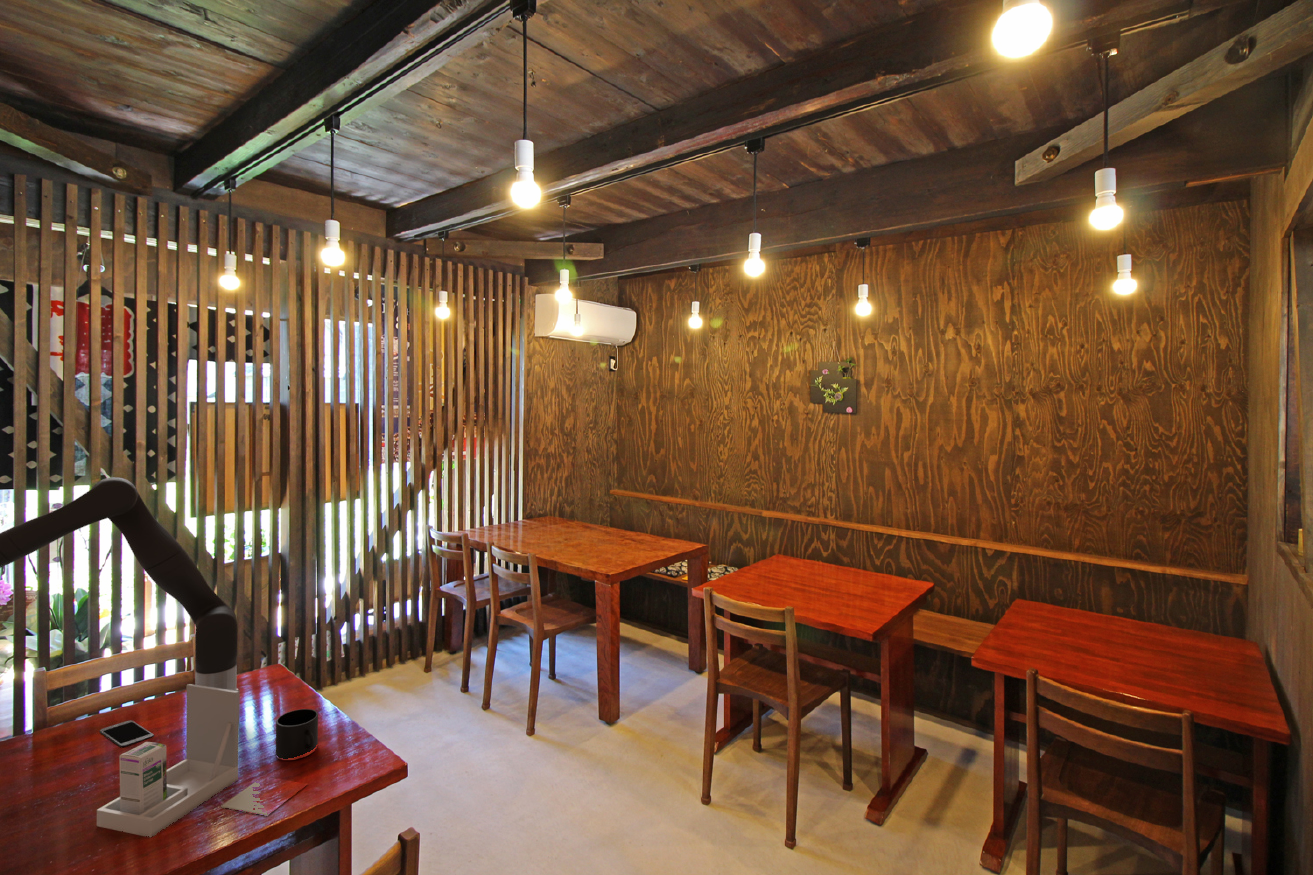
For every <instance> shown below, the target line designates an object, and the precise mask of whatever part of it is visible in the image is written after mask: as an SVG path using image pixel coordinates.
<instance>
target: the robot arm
mask: <svg viewBox="0 0 1313 875" xmlns="http://www.w3.org/2000/svg"><path fill="white" fill-rule="evenodd" d="M106 519H109V521H110V522H111V523H112V524H113V525H114V526H115V527H116V528H117V529H118V530H119V531H120V532H121V534H122V535H123V537H124V538H125V540H126V542H127V544H128V546H129V548H130V550H131V551H132V554H133V555H134V557H135V559H136V560H137V562H138V563H139V565H140V566H141V567H142V569H143V570H144V571H145V572H146V574H147V575H148V576H149V578H150V579H151V580H152V581H153V582H154V583H155V584H156V585H157V586H158V587H159V588H161V590H162V591H163V592H165V593H167V594H168V595H169V596H171V597H172V598H173V599H175V601H177V602H179V604H180V605H182V607H183V608H184V609H185V611H186V613H187V614H188V616H189V617H190V618H191V620H192V623H193V625H194V626H195V635H194V636H195V637H194V639H195V640H194V641H195V643H194V645H195V646H194V648H195V649H194V650H195V652H194V654H195V656H194V657H195V659H194V662H195V663H194V664H195V666H194V667H195V669H194V670H195V672H194V673H195V675H194V678H195V679H194V680H195V681H194V682H195V684H194V685H200V686H207V687H214V688H220V689H227V690H234V691H239V706H240V704H241V703H240V701H241V700H240V696H241V695H240V693H241V692H240V688H238V687H237V685H238V684H237V680H238V679H237V677H238V676H237V673H238V671H237V668H238V667H237V664H238V635H239V634H238V628H239V627H238V620H237V619H238V618H237V615H236V613H235V611H234V610H233V609H232V608H231V607H230V606H229V605H228V604H227V603H226V602H224V600H223V599H222V598H221V597H220V596H219V595H218V594H216V592H214V590H213V589H212V588H211V587H210V585H209V584H208V583H207V581H206V579H205V578H204V576H203V574H202V573H201V570H199V568H198V566H197V565H196V563H195V562H194V560H193V559H192V558H191V556H190V555H189V554H188V553H187V551H186V550H185V549H184V547H183V546H182V545H181V544H180V543H179V541H177V539H175V537H174V536H173V535H172V534H171V533H170V532H169V531H168V529H166V528H165V527H164V526H163V525H162V524H161V523H160V522H159V521H158V520H157V519H156V518H155V517H154V515H153V514H152V513H151V512H150V510H149V508H148V507H147V506H146V503H145V502H144V500H143V499H142V497H141V495H140V494H139V491H138V488H136V486H135V484H133V482H132V481H129V480H128V479H126V478H123V477H117V476H112V477H106V478H103V479H101V480H99V481H97V482H96V483H95V484H94V485H93V486H92V487H91V489H89V490H88V491H87V492H85V493H84V494H82V495H80V496H79V497H78V498H76V499H74V500H72V501H70V502H69V503H67V504H65V505H63V506H62V507H59V508H56V509H55V510H53V511H50V512H48V513H45V514H43V515H40V516H37V517H35V518H32V519H29V520H28V521H25V522H23V523H20V524H17V525H15V526H12V527H10V528H9V529H6V530H3V531H2V532H0V569H1V568H4V567H5V566H7V565H9V564H12V563H14V562H16V561H18V560H20V559H22V558H24V557H26V556H28V555H30V554H32V553H34V552H36V551H38V550H40V549H42V548H44V547H45V546H47V545H50V544H51V543H53V542H55V541H57V540H59V539H61V538H62V537H65V536H67V535H68V534H71V533H73V532H75V531H77V530H79V529H82V528H85V527H86V526H89V525H92V524H95V523H97V522H99V521H103V520H106Z"/></svg>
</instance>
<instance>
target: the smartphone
mask: <svg viewBox="0 0 1313 875" xmlns="http://www.w3.org/2000/svg"><path fill="white" fill-rule="evenodd" d="M99 732H100V733H99V734H100V735H102V736H103V735H104V736H103V737H105V738H106V739H108V738H109V739H110V740H111V741H110V740H109V739H108V740H109V741H110V742H112V743H113V744H114V745H116V746H117V745H118V746H117V747H119V748H121V747H122V748H127V747H130V746H133V745H136V744H138V743H140V742H143V741H146V740H149V739H152V738H154V737H155V734H154V733H153V732H150V731H149V730H147V729H146V728H144V727H143V726H141V724H138V723H137V722H135V721H134V720H132V719H131V720H126V721H122V722H119V723H116V724H113V725H109V726H107V727H103V728H101V729H100V730H99ZM129 745H130V746H129Z"/></svg>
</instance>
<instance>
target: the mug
mask: <svg viewBox="0 0 1313 875" xmlns="http://www.w3.org/2000/svg"><path fill="white" fill-rule="evenodd" d="M318 740H319V713H318V711H317V710H315V709H312V708H301V709H295V710H294V709H293V710H291V711H288V712H285V713H282V714H281V715H280V716H279V717H278V718H276V720H275V756H276V755H277V756H278V757H279V758H283V759H288V758H294V757H297V756H300V755H303V754H305V753H307V752H310V751H311V750H313V749H314V748H315V747H316V745H317V744H318V743H319V741H318Z"/></svg>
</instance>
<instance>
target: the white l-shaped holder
mask: <svg viewBox="0 0 1313 875" xmlns="http://www.w3.org/2000/svg"><path fill="white" fill-rule="evenodd" d="M185 714H186V719H185V720H186V724H185V725H186V729H185V730H186V734H185V735H186V738H185V740H186V742H185V743H186V744H185V746H186V747H185V750H186V751H185V754H186V755H185V759H184V760H181V761H180V762H177V763H176V764H175V765H173V766H171V767H170V768H168V769H167V799H165V800H164V801H162V802H160V803H159V804H157V805H155V806H154V807H152V808H151V809H149V810H147V811H146V812H144V813H142V814H141V815H135V814H130V813H125V812H120V796H119V797H117V798H115V799H114V800H111V801H110V802H108V803H107V804H105V805H103V806H101V807H99V808H98V809H96V827H99V828H105V829H108V830H114V831H117V832H122V831H123V833H127V834H128V833H129V834H132V835H137V836H141V837H146V836H147V837H146V838H151V837H152V836H153V837H154V836H156V835H157V833H158V832H159V833H160V831H161V830H162V829H164V830H165V829H167V828H168V827H170V826H171V825H173V824H174V823H176V822H177V821H179V820H180V819H181V818H183V817H185V816H186V815H188V814H190V813H191V812H192V811H193V809H194V808H195V809H197V808H198V807H200V806H201V805H202V803H203V802H204V801H206V802H207V801H209V800H211V799H212V798H213V797H215V796H216V795H218V794H219V793H221V792H222V791H224V790H225V789H226V788H225V787H227V788H229V787H230V786H231V785H233V784H234V783H236V782H237V781H239V726H240V725H239V724H240V705H239V691H234V690H227V689H220V688H214V687H207V686H200V685H195V684H194V683H192V684H191V683H189V684H187V685H186V713H185ZM236 780H237V781H236ZM235 781H236V782H235ZM233 782H234V783H233ZM232 783H233V784H232ZM224 788H225V789H224ZM223 789H224V790H223ZM220 791H221V792H220ZM218 792H219V793H218ZM217 793H218V794H217ZM215 794H216V795H215ZM214 795H215V796H214ZM212 796H213V797H212ZM211 797H212V798H211ZM208 799H209V800H208ZM204 803H205V802H204ZM204 803H203V804H204ZM200 804H201V805H200ZM199 805H200V806H199ZM197 806H198V807H197ZM195 809H194V810H195ZM190 811H191V812H190ZM184 815H185V816H184ZM178 819H179V820H178ZM173 822H174V823H173ZM172 823H173V824H172ZM170 824H171V825H170ZM169 825H170V826H169ZM166 827H167V828H166ZM162 831H163V830H162ZM162 831H161V832H162ZM159 833H158V834H159ZM148 836H149V837H148ZM153 837H152V838H153Z"/></svg>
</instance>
